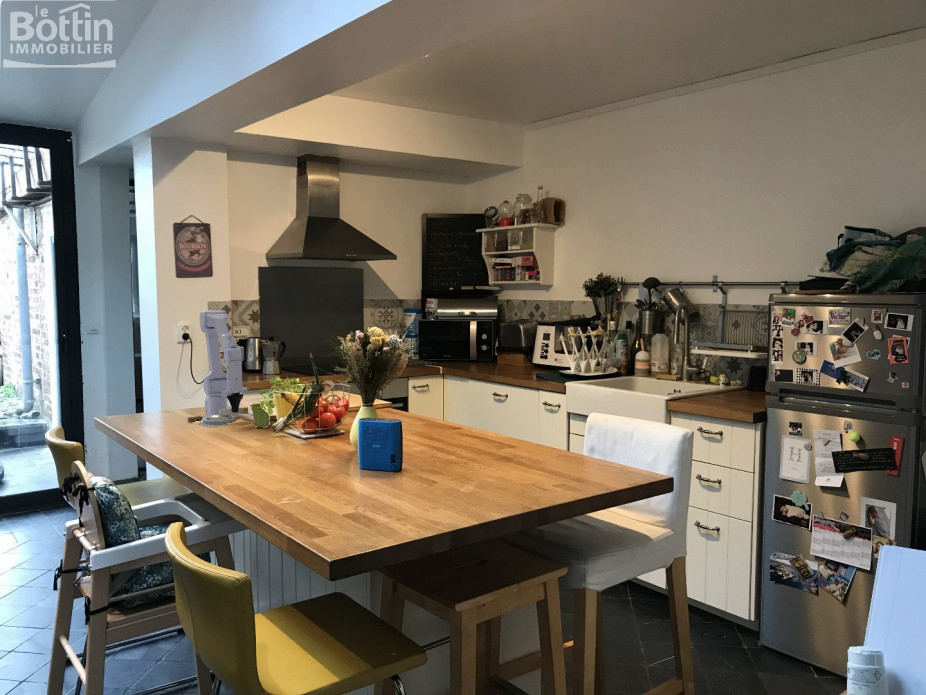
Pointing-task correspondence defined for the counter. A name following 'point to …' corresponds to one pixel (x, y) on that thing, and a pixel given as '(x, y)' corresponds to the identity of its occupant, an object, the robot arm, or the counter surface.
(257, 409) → the plant pot
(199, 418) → the screwdriver
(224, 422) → the board
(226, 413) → the dial
